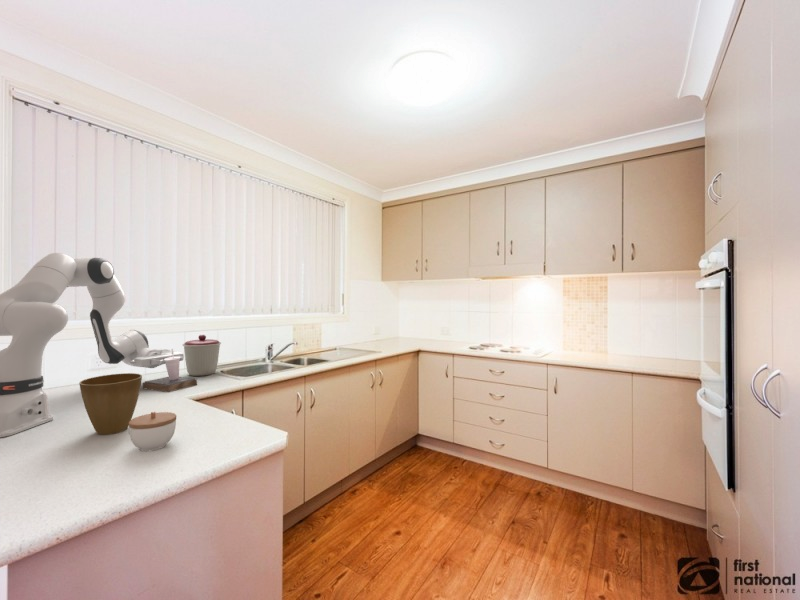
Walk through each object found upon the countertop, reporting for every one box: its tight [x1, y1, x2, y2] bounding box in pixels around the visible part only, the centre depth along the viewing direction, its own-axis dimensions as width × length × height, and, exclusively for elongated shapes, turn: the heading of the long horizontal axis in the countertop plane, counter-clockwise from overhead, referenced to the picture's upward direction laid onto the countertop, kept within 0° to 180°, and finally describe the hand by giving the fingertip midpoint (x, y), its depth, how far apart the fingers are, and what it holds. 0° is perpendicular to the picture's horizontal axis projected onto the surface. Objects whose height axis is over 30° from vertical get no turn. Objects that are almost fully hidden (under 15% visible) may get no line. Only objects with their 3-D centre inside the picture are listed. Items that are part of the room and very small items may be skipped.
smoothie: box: [164, 348, 181, 380], centre depth 166 cm, size 6×6×14 cm
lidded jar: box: [128, 411, 177, 452], centre depth 98 cm, size 11×11×9 cm
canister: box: [182, 334, 222, 377], centre depth 192 cm, size 18×18×21 cm
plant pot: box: [78, 372, 143, 436], centre depth 110 cm, size 15×15×16 cm
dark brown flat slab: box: [142, 376, 198, 393], centre depth 165 cm, size 14×16×3 cm
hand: (171, 360), depth 164 cm, fingers open, 8 cm apart
